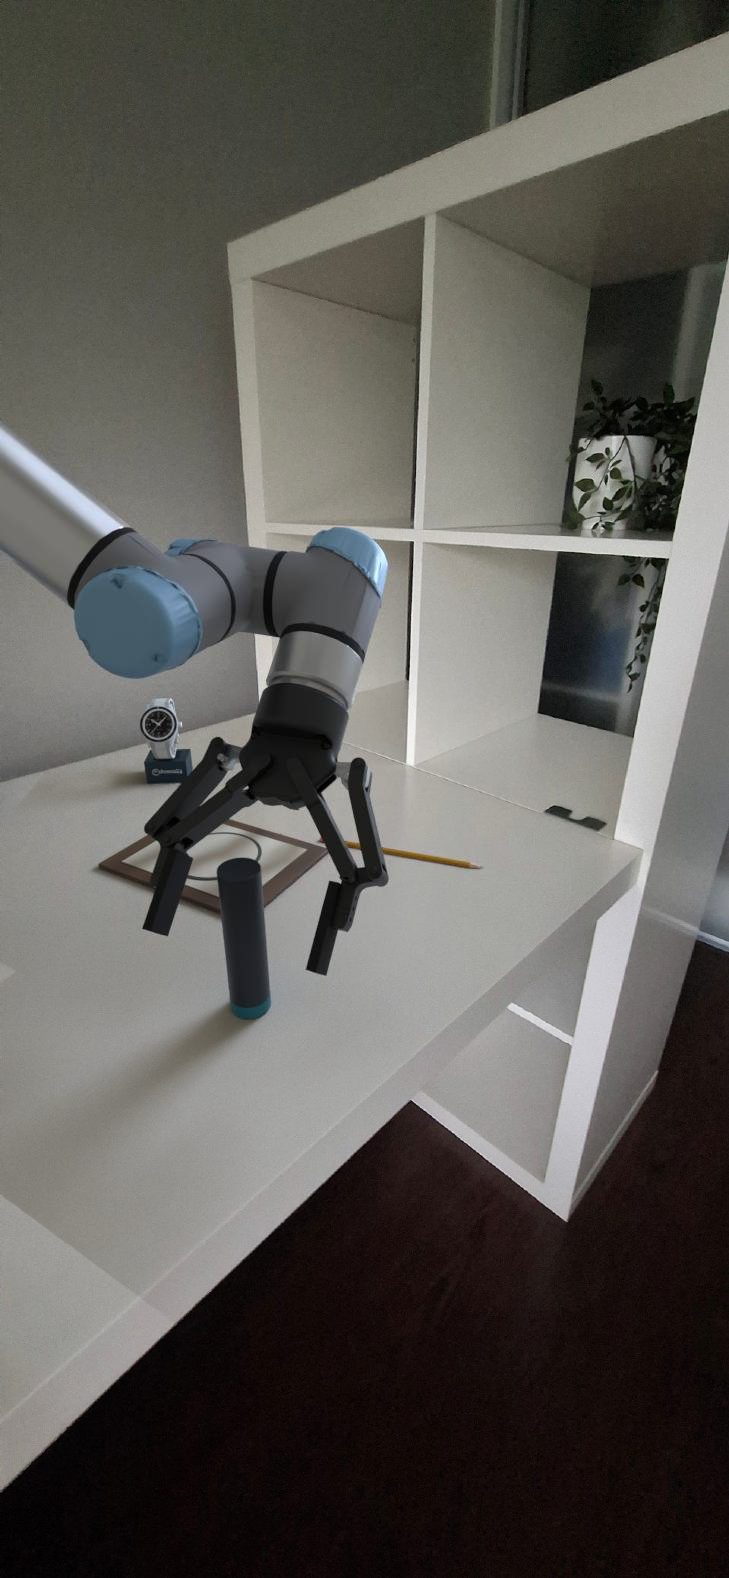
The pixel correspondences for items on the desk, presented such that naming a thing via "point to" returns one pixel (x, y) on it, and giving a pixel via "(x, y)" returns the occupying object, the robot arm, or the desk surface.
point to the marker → (244, 936)
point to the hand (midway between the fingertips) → (232, 952)
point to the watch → (164, 744)
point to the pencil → (418, 856)
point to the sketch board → (228, 841)
